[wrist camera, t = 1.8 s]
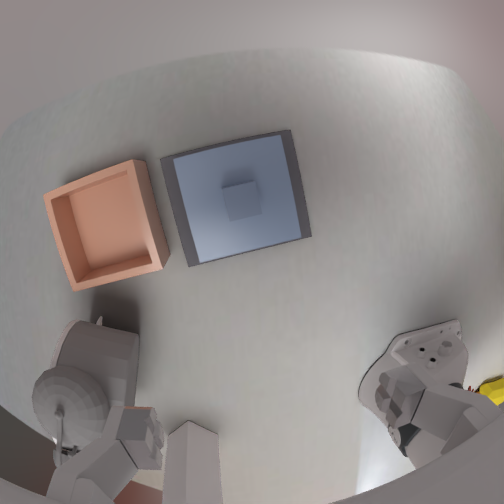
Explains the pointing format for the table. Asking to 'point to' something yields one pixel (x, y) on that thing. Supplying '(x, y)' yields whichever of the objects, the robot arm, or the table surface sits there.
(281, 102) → the table surface
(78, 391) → the alarm clock
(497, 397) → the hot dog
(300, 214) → the mat
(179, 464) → the milk
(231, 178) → the lid
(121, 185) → the dish
